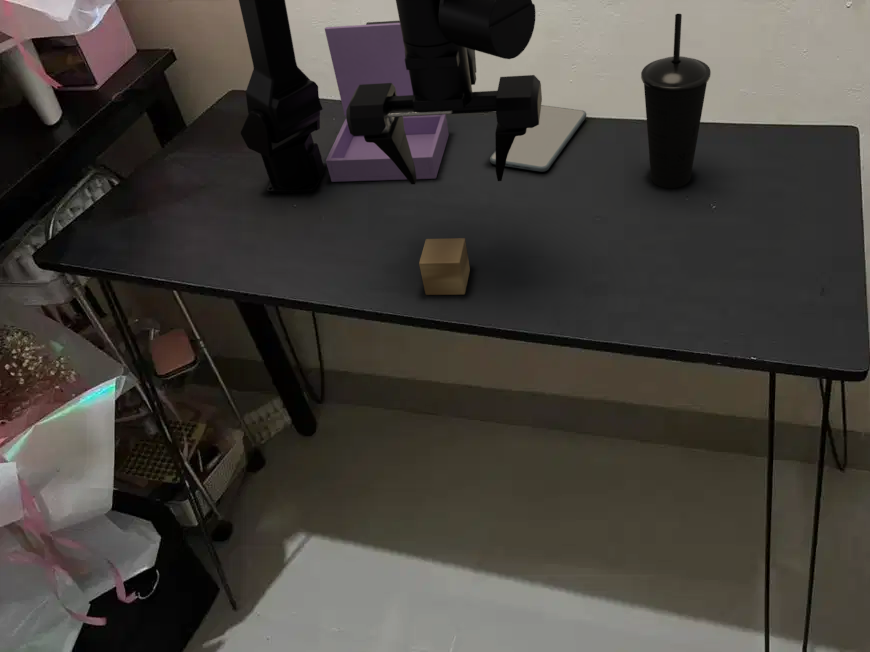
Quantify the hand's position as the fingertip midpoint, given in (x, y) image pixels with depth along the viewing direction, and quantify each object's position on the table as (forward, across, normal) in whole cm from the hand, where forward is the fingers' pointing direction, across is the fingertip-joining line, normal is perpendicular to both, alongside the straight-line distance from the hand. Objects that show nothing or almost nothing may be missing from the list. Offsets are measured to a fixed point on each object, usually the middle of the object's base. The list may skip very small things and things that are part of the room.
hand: (456, 180), depth 88 cm
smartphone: (+11, -6, -26) cm, 29 cm away
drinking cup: (+11, -23, -16) cm, 30 cm away
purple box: (+11, +14, -23) cm, 29 cm away
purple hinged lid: (+1, +14, -29) cm, 32 cm away
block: (+11, +2, +4) cm, 11 cm away
